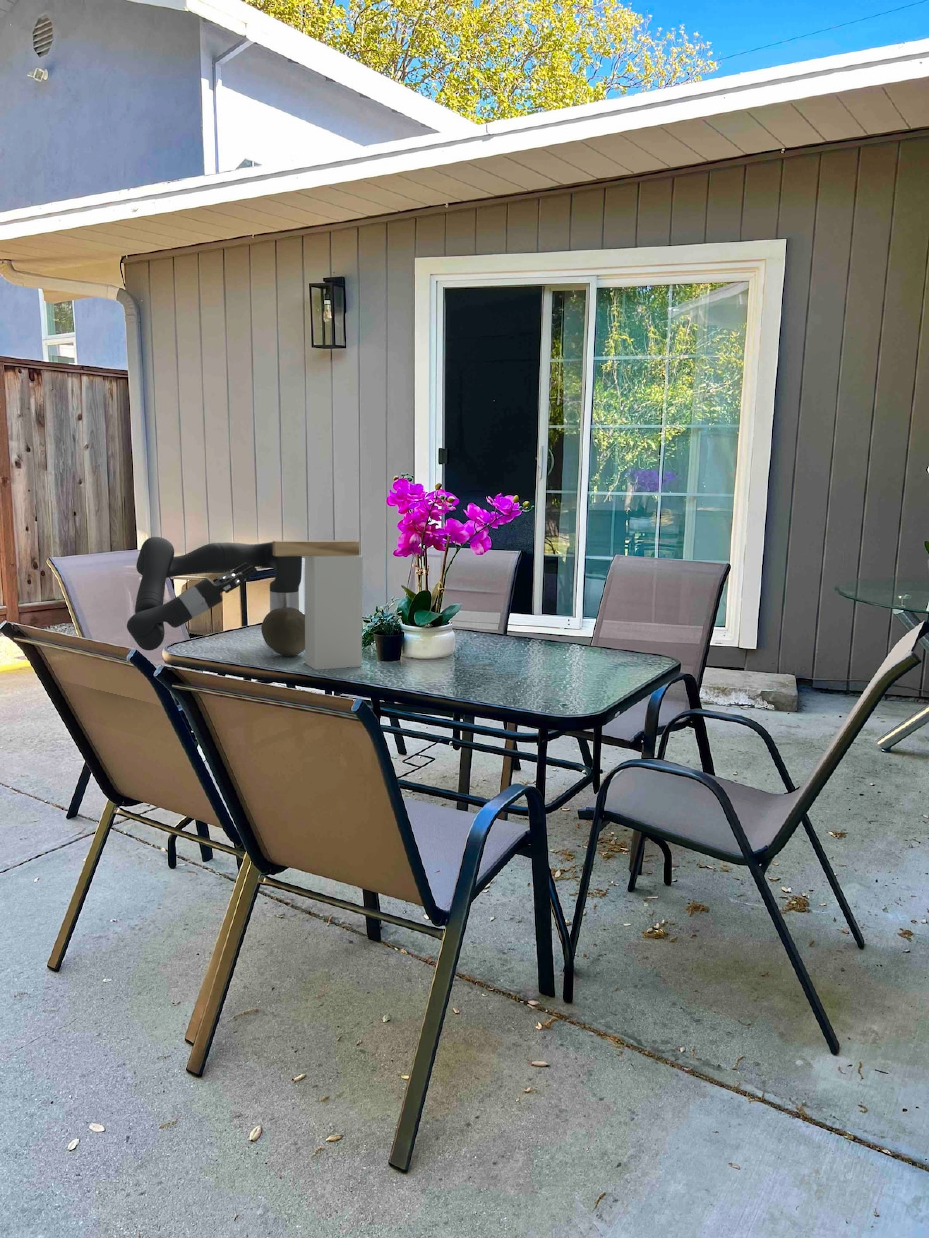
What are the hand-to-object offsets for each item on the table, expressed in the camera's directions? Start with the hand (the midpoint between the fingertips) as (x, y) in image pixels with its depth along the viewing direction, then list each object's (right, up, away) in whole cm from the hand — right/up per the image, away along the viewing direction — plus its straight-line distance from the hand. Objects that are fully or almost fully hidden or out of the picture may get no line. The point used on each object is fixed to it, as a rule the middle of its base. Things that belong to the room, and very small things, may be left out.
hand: (252, 566), depth 241 cm
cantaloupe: (+4, -26, +25) cm, 36 cm away
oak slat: (+16, +4, +8) cm, 18 cm away
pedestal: (+20, -28, +15) cm, 37 cm away
